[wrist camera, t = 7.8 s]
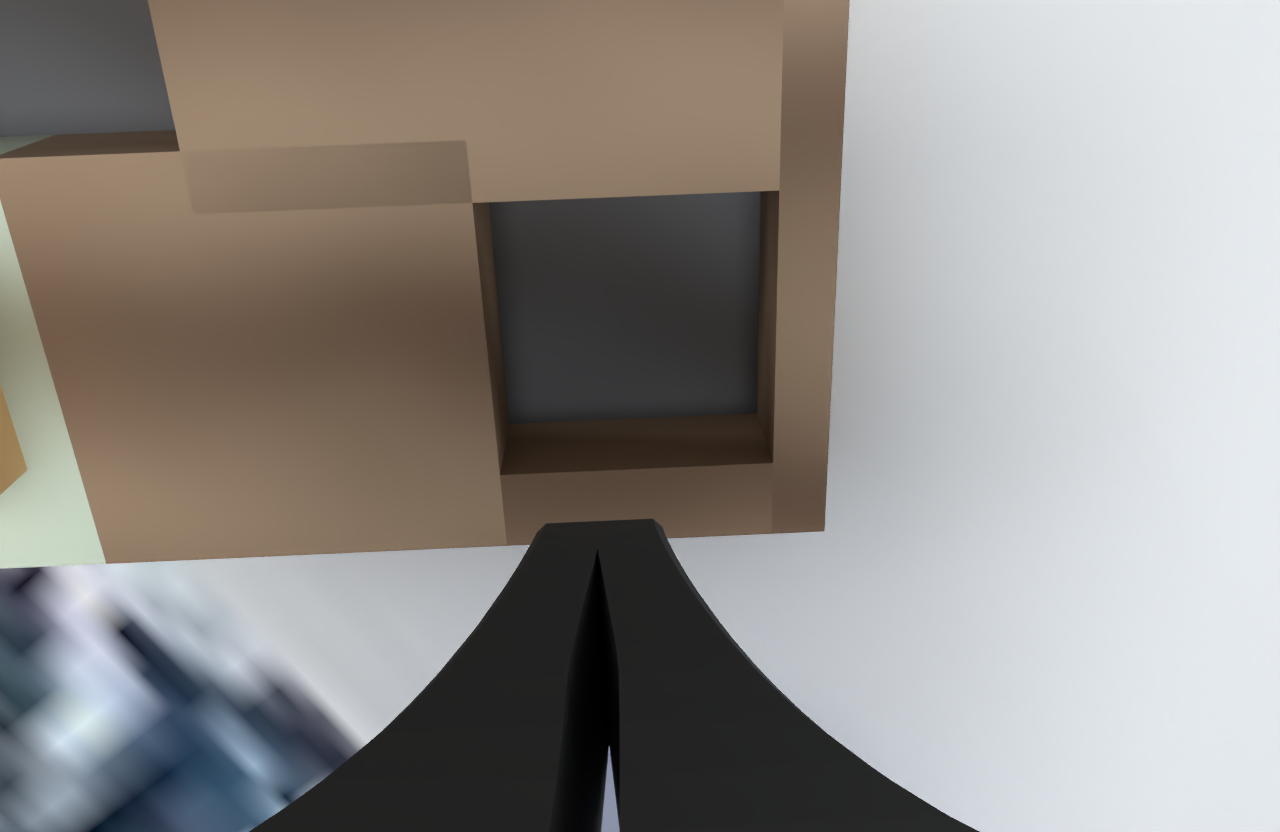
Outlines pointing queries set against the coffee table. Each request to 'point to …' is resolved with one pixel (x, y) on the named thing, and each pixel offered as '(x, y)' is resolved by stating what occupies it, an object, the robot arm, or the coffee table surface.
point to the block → (9, 449)
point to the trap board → (414, 271)
